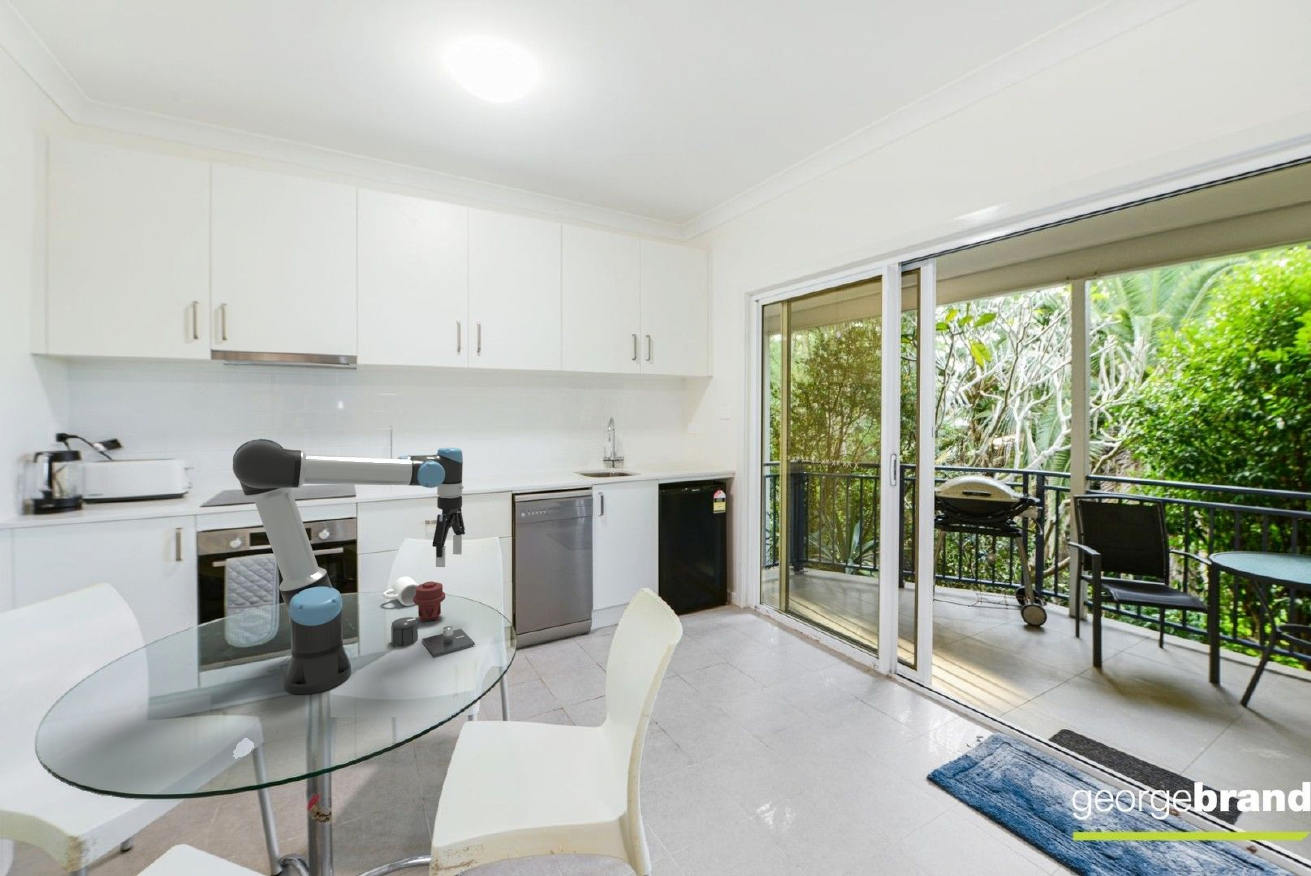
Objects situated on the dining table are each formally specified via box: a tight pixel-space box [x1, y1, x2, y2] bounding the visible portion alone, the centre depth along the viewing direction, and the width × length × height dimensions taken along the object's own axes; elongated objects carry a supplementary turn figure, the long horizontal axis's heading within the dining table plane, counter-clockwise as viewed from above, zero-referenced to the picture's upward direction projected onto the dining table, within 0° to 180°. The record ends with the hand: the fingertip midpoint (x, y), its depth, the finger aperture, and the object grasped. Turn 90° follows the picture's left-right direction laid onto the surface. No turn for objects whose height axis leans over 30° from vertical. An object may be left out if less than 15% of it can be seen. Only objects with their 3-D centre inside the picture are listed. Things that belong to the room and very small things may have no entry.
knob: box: [390, 616, 419, 647], centre depth 167 cm, size 7×7×6 cm
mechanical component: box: [413, 581, 446, 623], centre depth 183 cm, size 12×10×10 cm
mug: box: [382, 576, 420, 607], centre depth 196 cm, size 12×10×8 cm
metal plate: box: [421, 625, 476, 658], centre depth 165 cm, size 12×12×5 cm
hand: (449, 560), depth 176 cm, fingers open, 13 cm apart
